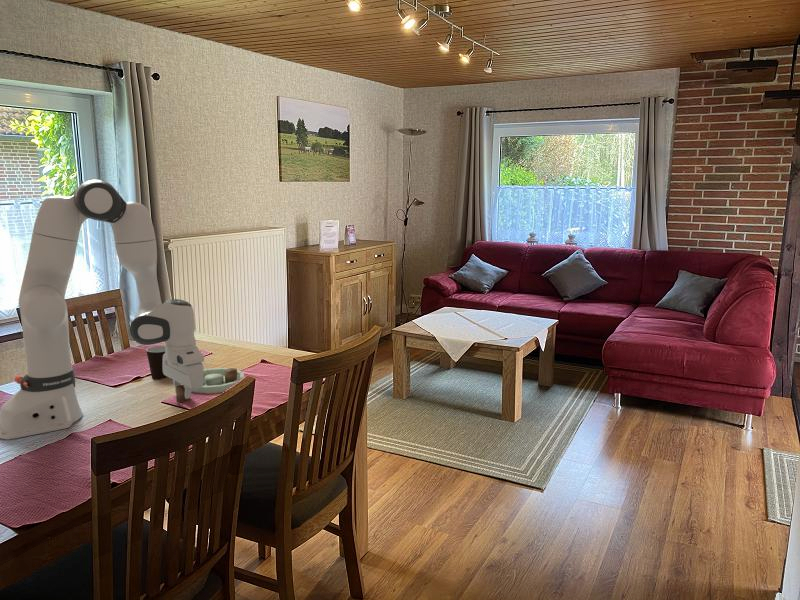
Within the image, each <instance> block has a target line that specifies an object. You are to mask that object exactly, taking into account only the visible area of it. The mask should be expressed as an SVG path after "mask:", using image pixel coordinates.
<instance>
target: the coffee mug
mask: <svg viewBox="0 0 800 600" xmlns="http://www.w3.org/2000/svg"><path fill="white" fill-rule="evenodd" d="M145 351H146V356H147V359H148V360H147V361H148V366H149V370H150V375H151V379H153V380H163V379H167V378H169V377H167V376H165V375H164V374H163V355H164V354H165V344H163V345H162V344H160V345H154V346H150V347H147V348H146V350H145Z"/></svg>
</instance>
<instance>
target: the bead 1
mask: <svg viewBox="0 0 800 600" xmlns="http://www.w3.org/2000/svg"><path fill="white" fill-rule="evenodd" d="M183 392H185V388H184V385H182V384H181V385H179V386H177V387H176V392H175V394H176V395H175V396H176V403H178V404H183V403H184V402H185V403H186V402H189V401H190V400H191V398H188V399H186V398H184V397H183V396H184V395H183Z"/></svg>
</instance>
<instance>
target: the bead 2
mask: <svg viewBox="0 0 800 600" xmlns="http://www.w3.org/2000/svg"><path fill="white" fill-rule="evenodd" d="M237 370H238V369H237V368H235V367H230V368H229V369H225V384H226V383H230V382H234V381H235V380H237Z"/></svg>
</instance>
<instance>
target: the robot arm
mask: <svg viewBox="0 0 800 600" xmlns="http://www.w3.org/2000/svg"><path fill="white" fill-rule="evenodd" d="M88 219H91V220H94V221H98V222H105V223H109V225H110V227H111V229H112V233H113V240H114V245H115V247H114V248H115V251H116V255H117V257H118V261H119V263H120V265H121V267H122V268H124V269H125V270H126V271H128V272H129V273H130V275H132V277H133V278H134V280H135V284H136V290H137V294H138V299H139V310H138V313H137V314H136V316H134V317H133V318H134V319H133V320H132V321H131V322H130V325H129V334H130V336H131V338H132V339H133V340H134V342H136V343H138V344H140V345H141V346H149V345H155V344H160V343H161V344H162V343H164V345H165V354H164V355H163V374H164V375H165V376H167V377H168V378H169V379H170V380H172V384H173V386H174V389H175V390H174V392H175V393H176V387H177V386H179V385H184V388H185V392H183V395H184V396H183V397H184V398H186V399H188V398H190V399H191V398H192V392H191V391H192V390H194V389H199V388H202V386H203V384H204V364H203V362H205V356H204V354H203V353H202V352H201V351H200V349H199V348H198V346H197V340H196V338H195V331H196V319H195V313H194V308H193V306H192V304H191V303H190V302H189V301H186V300H183V299H178V298H177V299H176V298H173V299H172V298H171V299H170V298H169V299H166V300H165V301H164V302H163V300H162V295H161V291H160V286H159V285H160V284H159V281H158V273H157V270H158V269H157V265H158V249H157V248H158V247H157V239H156V238H157V237H156V233H155V227H154V224H153V220H152V217H151V214H150V212H149V209H148V208H147V207H146V205H144V204H142V203H141V202H136V201H125V199H123V197H122V196H121V195H120V193H119V192H118V190H116V188H115V187H114V186H113V185H112V184H111V183H109V182H108V181H105V180H104V179H99V178H92V179H87V180H85V181H84V182H82V183H81V184H80V185H78V187H77V188H76V189H75V190H74V191H73V192H72V193H71V194H70V195H69V196H63V195H52V196H48V197H45V198H44V199H43V201H42V202H41V204H40V206H39V210H38V212H37V215H36V217H35V222H34V225H33V229H32V234H31V241H30V246H29V248H28V249H29V250H28V256H27V261H26V265H25V270H24V274H23V279H22V283H21V287H20V292H19V297H18V306H19V312H20V319H21V322H20V323H21V330H22V337H23V339H22V340H23V347H24V348H23V349H24V357H25V358H24V359H25V366H26V373H27V374H26V375H24V376H22V375H16V376H15V377H14V380H13V381H14V382H15V383H16V384H18V385H19V386H20V389H19V390H18V391H17V392H15V394H14V395H13V396H12V397H10V398H9V399H8V400H6V401H5V402H4V403H3V404H2V405H1V408H0V439H1V440H15V439H18V438H24V437H28V436H33V435H40V434H43V433H48V432H49V433H50V432H53V431H59V430H64V429H67V428H70V427H71V426H72V425H73V424H74V423H76V422H77V421H79V420H80V419H81V418H82V417H83V416H84V413H83V411H82V408H81V407H80V404H79V400H78V397H77V394H76V393H77V392H76V389H75V388H76V374H75V371H74V368H73V367H72V358H71V349H70V328H69V316H68V311H69V310H68V305H67V301H66V299H65V298H66V293H67V292H66V291H67V288H68V284H69V281H70V277H71V274H72V271H73V268H74V263H75V259H76V258H75V257H76V252H77V247H78V242H79V238H80V237H79V236H80V233H81V227H82V225H83V223H84V222H85V221H87V220H88Z"/></svg>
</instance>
